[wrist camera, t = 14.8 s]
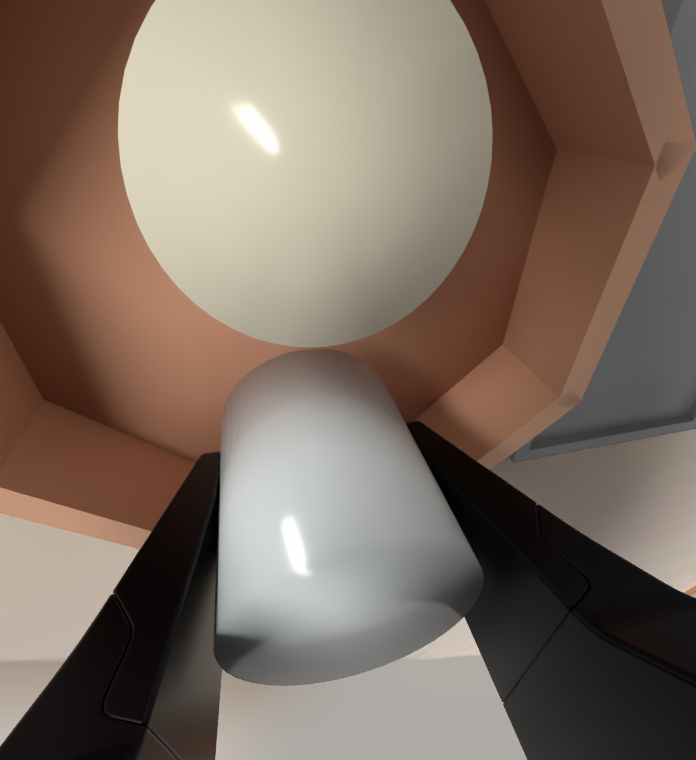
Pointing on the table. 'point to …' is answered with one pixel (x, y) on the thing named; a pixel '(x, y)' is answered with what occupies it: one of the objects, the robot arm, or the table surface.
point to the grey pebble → (329, 527)
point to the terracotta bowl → (381, 350)
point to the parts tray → (647, 317)
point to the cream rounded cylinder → (305, 158)
